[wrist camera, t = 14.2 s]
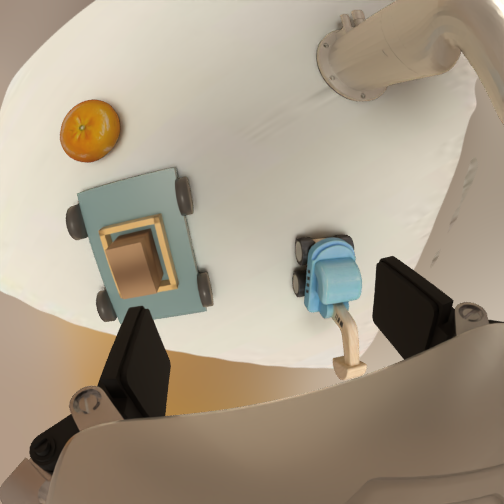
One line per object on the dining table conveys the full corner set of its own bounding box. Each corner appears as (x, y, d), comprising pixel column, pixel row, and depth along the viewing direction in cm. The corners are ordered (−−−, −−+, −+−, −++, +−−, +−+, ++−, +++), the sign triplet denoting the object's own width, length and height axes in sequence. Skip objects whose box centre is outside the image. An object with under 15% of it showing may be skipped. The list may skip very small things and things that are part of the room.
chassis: (75, 193, 35) (59, 200, 30) (185, 164, 36) (181, 166, 32) (116, 318, 43) (108, 335, 39) (215, 302, 45) (215, 320, 40)
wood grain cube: (119, 235, 36) (104, 250, 31) (150, 228, 37) (140, 242, 31) (133, 279, 39) (122, 299, 34) (163, 273, 39) (156, 293, 34)
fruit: (136, 138, 31) (85, 127, 24) (101, 176, 35) (54, 173, 27) (123, 95, 32) (79, 82, 24) (92, 133, 35) (50, 126, 28)
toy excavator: (289, 321, 48) (319, 393, 32) (294, 229, 42) (341, 279, 26) (333, 315, 49) (376, 379, 33) (344, 227, 43) (408, 272, 27)
